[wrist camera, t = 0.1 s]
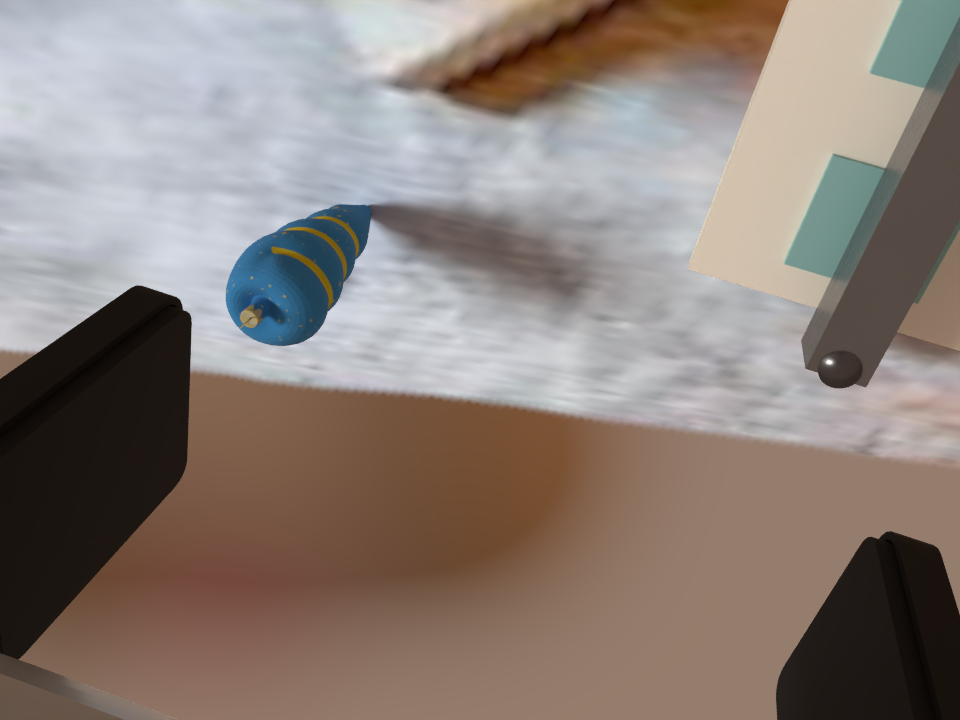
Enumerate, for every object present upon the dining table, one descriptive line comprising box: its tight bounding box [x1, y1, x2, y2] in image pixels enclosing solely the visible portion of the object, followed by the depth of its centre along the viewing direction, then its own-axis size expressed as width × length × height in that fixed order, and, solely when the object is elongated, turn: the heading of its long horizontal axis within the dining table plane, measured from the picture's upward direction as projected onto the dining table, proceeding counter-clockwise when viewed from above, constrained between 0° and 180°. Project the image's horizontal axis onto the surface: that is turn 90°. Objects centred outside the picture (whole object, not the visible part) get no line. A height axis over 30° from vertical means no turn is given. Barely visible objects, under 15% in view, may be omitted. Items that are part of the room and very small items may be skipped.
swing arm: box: [801, 17, 960, 388], centre depth 37 cm, size 25×3×6 cm, turn 168°
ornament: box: [226, 205, 372, 346], centre depth 45 cm, size 5×5×15 cm
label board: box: [689, 0, 960, 351], centre depth 40 cm, size 24×16×2 cm, turn 168°
